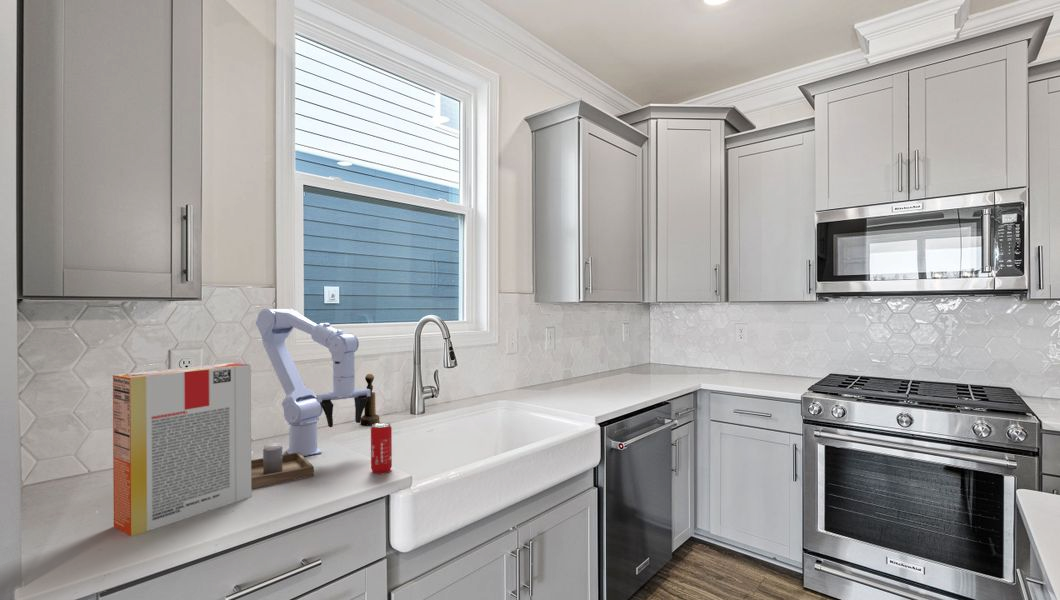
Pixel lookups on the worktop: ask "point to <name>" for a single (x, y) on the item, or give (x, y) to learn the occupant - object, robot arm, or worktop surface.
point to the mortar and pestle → (370, 405)
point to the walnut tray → (292, 470)
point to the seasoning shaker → (272, 458)
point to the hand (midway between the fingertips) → (344, 424)
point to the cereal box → (180, 443)
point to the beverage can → (381, 448)
